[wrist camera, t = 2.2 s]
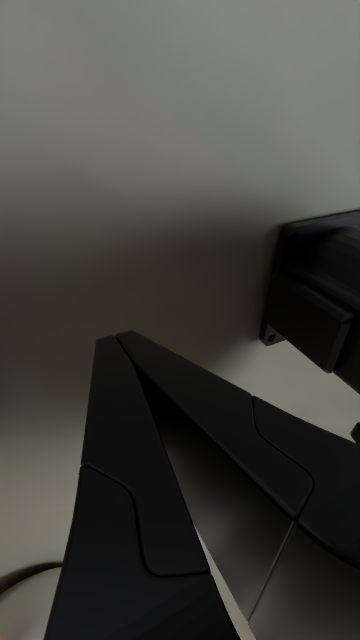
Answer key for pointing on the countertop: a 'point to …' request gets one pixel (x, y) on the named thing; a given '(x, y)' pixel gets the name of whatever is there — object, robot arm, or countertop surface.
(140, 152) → the countertop surface
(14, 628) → the plastic bottle
